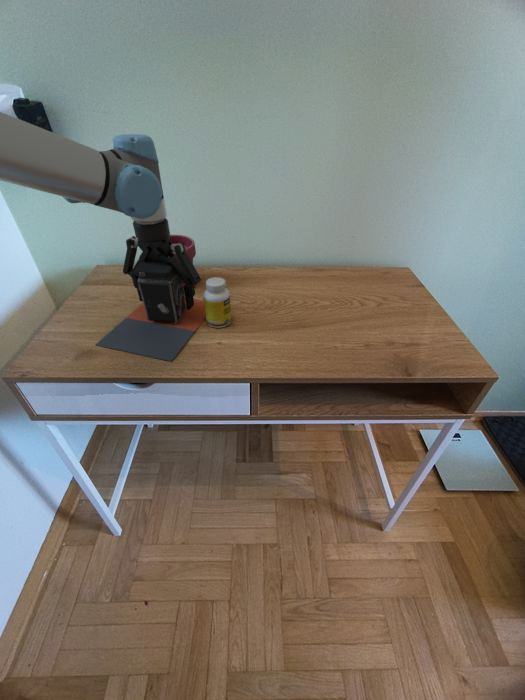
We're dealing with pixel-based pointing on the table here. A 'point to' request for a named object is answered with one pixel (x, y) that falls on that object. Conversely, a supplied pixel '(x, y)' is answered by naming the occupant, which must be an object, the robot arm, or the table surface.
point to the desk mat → (154, 333)
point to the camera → (161, 291)
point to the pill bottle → (217, 303)
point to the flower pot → (185, 245)
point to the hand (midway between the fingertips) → (167, 303)
